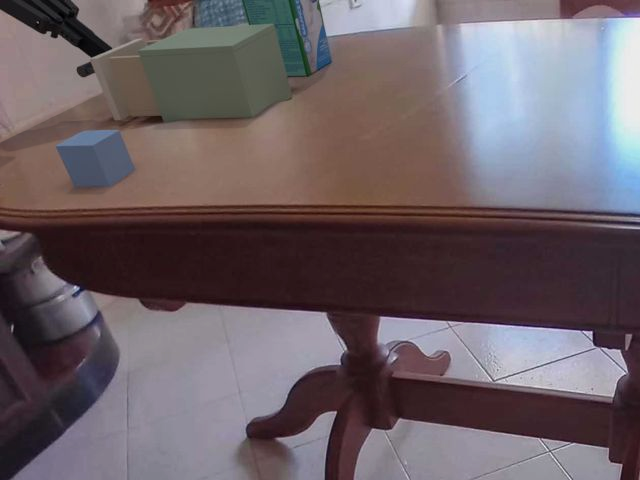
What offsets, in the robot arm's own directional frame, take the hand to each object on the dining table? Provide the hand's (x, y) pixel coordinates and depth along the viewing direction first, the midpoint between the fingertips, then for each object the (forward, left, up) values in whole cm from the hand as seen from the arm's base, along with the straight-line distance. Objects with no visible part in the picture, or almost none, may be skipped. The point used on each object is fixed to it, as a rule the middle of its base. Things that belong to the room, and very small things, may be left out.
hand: (106, 56), depth 105 cm
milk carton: (+28, +10, -9) cm, 30 cm away
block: (+1, -32, -9) cm, 33 cm away
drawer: (+5, -3, -8) cm, 10 cm away
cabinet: (+16, -9, -9) cm, 20 cm away
